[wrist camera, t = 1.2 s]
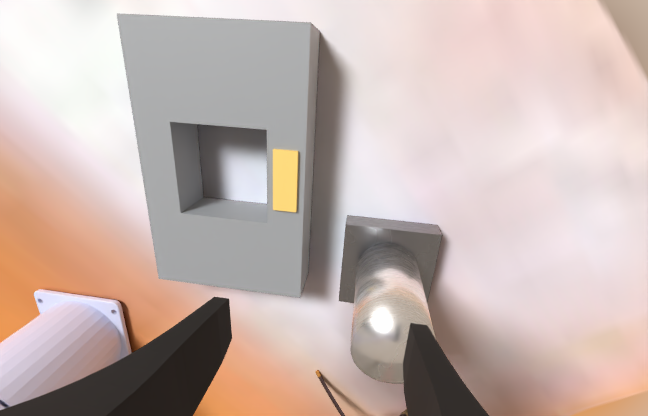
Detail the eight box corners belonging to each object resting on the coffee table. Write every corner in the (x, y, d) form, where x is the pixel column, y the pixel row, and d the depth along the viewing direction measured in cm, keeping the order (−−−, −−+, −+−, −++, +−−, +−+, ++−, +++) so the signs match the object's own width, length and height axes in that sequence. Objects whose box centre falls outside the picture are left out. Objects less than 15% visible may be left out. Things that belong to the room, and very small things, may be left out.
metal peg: (412, 298, 22) (429, 389, 16) (354, 291, 22) (347, 376, 16) (422, 247, 21) (446, 324, 14) (359, 240, 21) (354, 311, 15)
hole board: (308, 272, 24) (299, 299, 21) (182, 256, 25) (157, 280, 22) (319, 31, 18) (309, 21, 15) (153, 22, 19) (113, 12, 16)
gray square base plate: (422, 299, 24) (425, 312, 22) (340, 288, 24) (338, 300, 23) (437, 225, 21) (442, 235, 20) (347, 215, 22) (345, 224, 21)
